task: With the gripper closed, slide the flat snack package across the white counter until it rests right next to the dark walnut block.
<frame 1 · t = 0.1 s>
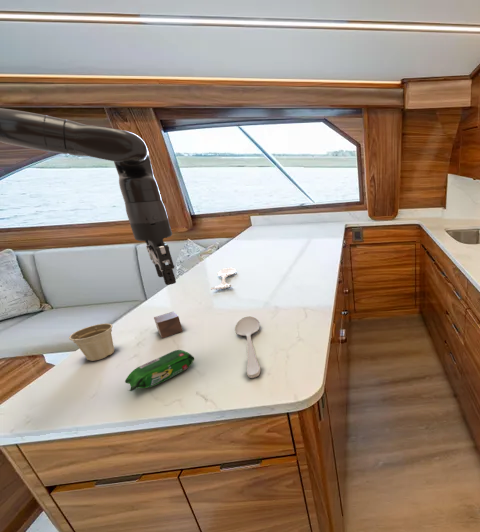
hand: (167, 280, 79), 27 cm above the counter, tool pointing down, fingers open, 8 cm apart
flower pot: (101, 355, 93), on the counter
snack package: (164, 377, 83), on the counter
spoon: (250, 347, 95), on the counter
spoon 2: (225, 281, 151), on the counter
walnut block: (170, 331, 105), on the counter
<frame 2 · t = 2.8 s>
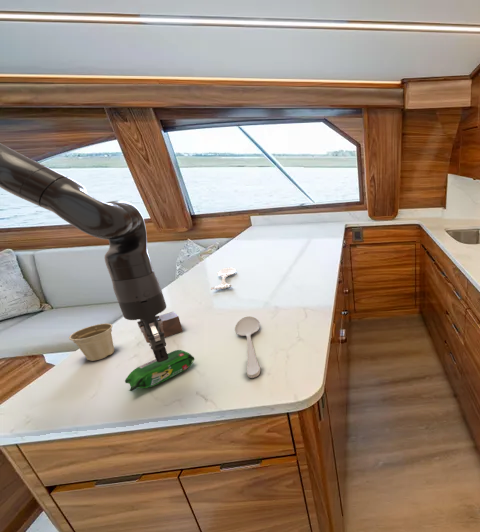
hand: (162, 359, 71), 11 cm above the counter, tool pointing down, fingers closed
nothing on the counter moved.
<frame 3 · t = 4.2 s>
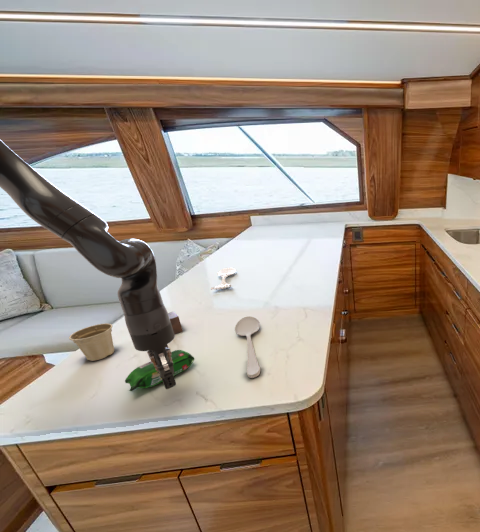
hand: (170, 386, 74), 3 cm above the counter, tool pointing down, fingers closed
nothing on the counter moved.
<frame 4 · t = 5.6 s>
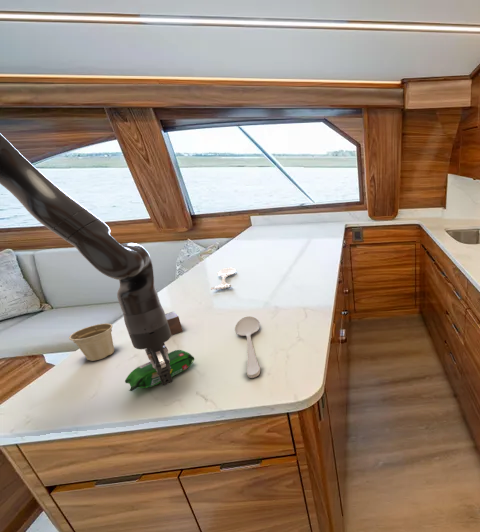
hand: (167, 382, 78), 1 cm above the counter, tool pointing down, fingers closed
snack package: (164, 377, 83), on the counter, touching gripper
everything else where it was.
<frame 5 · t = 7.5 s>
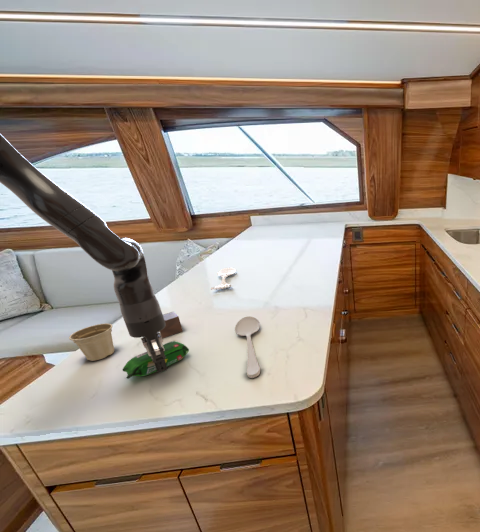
hand: (162, 370, 83), 2 cm above the counter, tool pointing down, fingers closed
snack package: (160, 366, 87), on the counter, touching gripper
everything else where it was.
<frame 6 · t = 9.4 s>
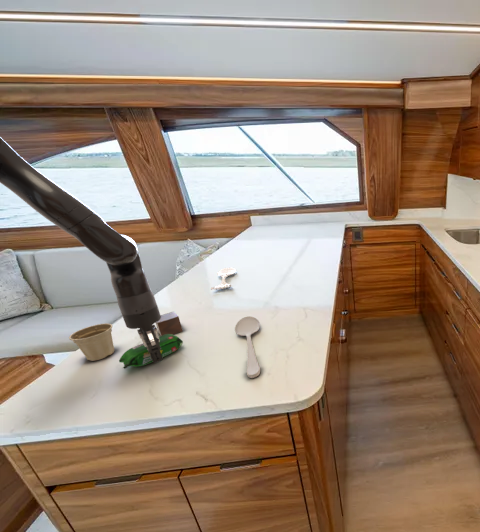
hand: (158, 360, 87), 2 cm above the counter, tool pointing down, fingers closed
snack package: (155, 358, 91), on the counter, touching gripper
everything else where it was.
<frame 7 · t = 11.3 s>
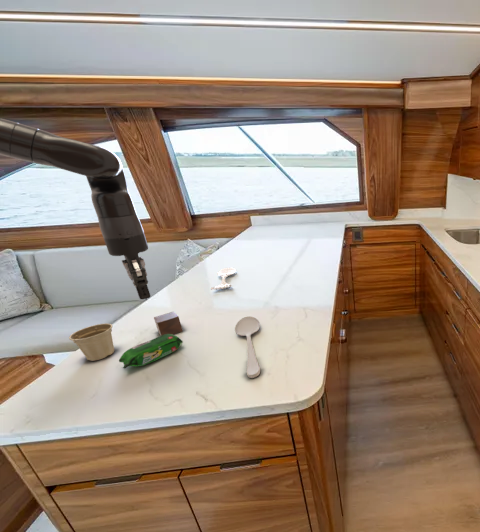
hand: (145, 297, 79), 23 cm above the counter, tool pointing down, fingers closed
snack package: (155, 358, 91), on the counter
everything else where it was.
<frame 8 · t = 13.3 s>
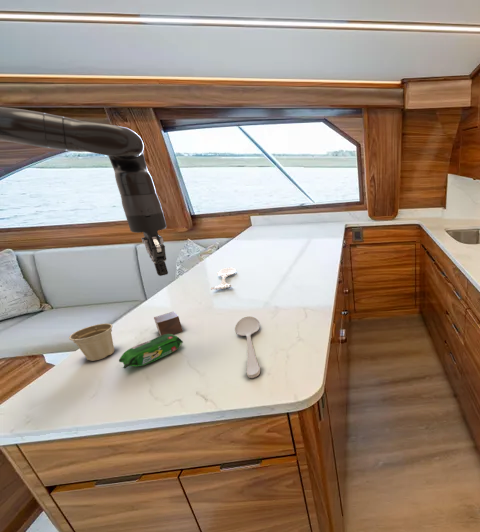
hand: (163, 274, 82), 27 cm above the counter, tool pointing down, fingers closed
nothing on the counter moved.
at the end: snack package 16.3 cm from the walnut block (horizontally); snack package moved 13.3 cm from its start; walnut block moved 0.0 cm from its start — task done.
